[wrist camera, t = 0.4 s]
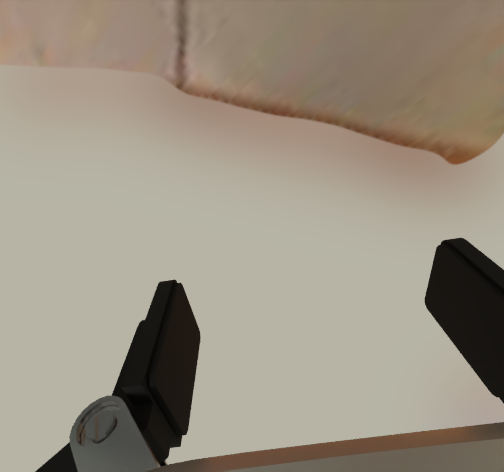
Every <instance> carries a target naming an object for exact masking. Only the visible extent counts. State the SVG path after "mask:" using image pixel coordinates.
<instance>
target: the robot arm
mask: <svg viewBox="0 0 504 472" xmlns="http://www.w3.org/2000/svg"><path fill="white" fill-rule="evenodd" d="M425 305H426V307H427V309H428V310H429V312H430V313H431V314H432V316H433V317H434V318H435V320H436V321H437V322H438V324H439V325H440V326H441V327H442V329H443V330H444V332H445V333H446V334H447V335H448V337H449V338H450V339H451V341H452V342H453V343H454V345H455V346H456V347H457V349H458V350H459V351H460V353H461V354H462V355H463V357H464V358H465V359H466V361H467V362H468V363H469V364H470V366H471V367H472V368H473V370H474V371H475V372H476V374H477V375H478V376H479V378H480V379H481V380H482V382H483V383H484V384H485V386H486V387H487V388H488V390H489V391H490V392H491V393H492V394H493V395H494V396H496V397H499V398H500V399H501V400H502V402H503V403H504V270H503V269H502V268H501V267H499V266H498V265H497V264H495V263H494V262H493V261H492V260H491V259H489V258H488V257H487V256H485V255H484V254H483V253H482V252H480V251H479V250H478V249H477V248H475V247H474V246H473V245H472V244H470V243H469V242H468V241H467V240H465V239H463V238H456V239H449V240H444V241H442V242H441V245H439V246H438V247H437V249H436V252H435V257H434V261H433V266H432V270H431V274H430V278H429V283H428V288H427V292H426V296H425ZM199 345H200V331H199V328H198V325H197V323H196V320H195V317H194V315H193V312H192V309H191V306H190V304H189V301H188V299H187V296H186V293H185V291H184V288H183V285H182V284H181V283H177V281H176V280H170V281H163V282H160V283H159V284H158V286H157V289H156V292H155V295H154V297H153V300H152V303H151V305H150V308H149V311H148V314H147V317H146V319H145V320H142V321H141V322H140V323H139V325H138V327H137V330H136V332H135V335H134V338H133V340H132V343H131V346H130V349H129V351H128V354H127V356H126V359H125V362H124V364H123V367H122V370H121V372H120V375H119V378H118V380H117V383H116V386H115V388H114V391H113V393H112V396H105V397H103V398H100V399H98V400H96V401H95V402H93V403H91V404H90V405H89V406H88V407H87V408H85V409H84V410H83V411H82V413H81V414H80V415H79V416H78V418H77V419H76V421H75V423H74V425H73V427H72V429H71V433H70V442H69V443H68V444H67V445H66V446H65V447H64V448H62V449H61V450H60V451H59V452H58V453H57V454H55V455H54V456H53V457H52V458H51V459H50V460H48V461H47V462H46V463H45V464H44V465H43V466H42V467H40V468H39V469H38V470H37V471H36V472H504V422H502V423H493V424H484V425H476V426H466V427H457V428H448V429H439V430H430V431H421V432H413V433H404V434H396V435H387V436H378V437H370V438H361V439H353V440H344V441H336V442H327V443H319V444H311V445H302V446H295V447H286V448H278V449H270V450H262V451H253V452H245V453H239V454H231V455H224V456H217V457H210V458H203V459H196V460H190V461H185V462H180V463H175V464H169V465H167V462H166V461H165V460H166V459H167V458H168V456H169V450H170V448H173V447H180V446H181V439H182V435H186V434H187V431H188V426H189V418H190V410H191V404H192V396H193V389H194V382H195V374H196V367H197V360H198V352H199Z"/></svg>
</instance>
